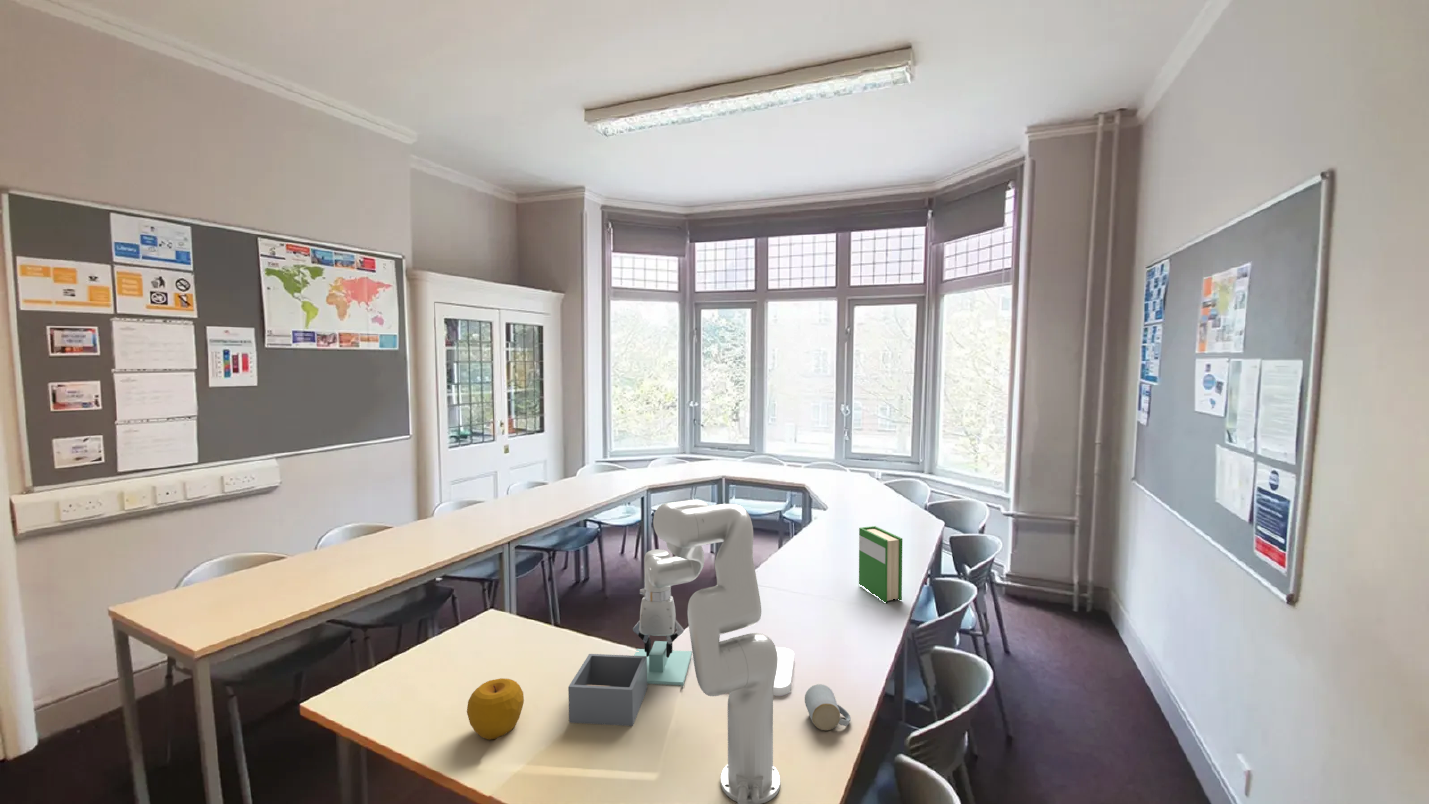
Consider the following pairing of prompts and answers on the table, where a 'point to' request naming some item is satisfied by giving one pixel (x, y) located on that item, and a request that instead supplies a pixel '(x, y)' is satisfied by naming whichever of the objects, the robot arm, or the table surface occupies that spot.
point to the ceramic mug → (824, 708)
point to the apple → (495, 707)
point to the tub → (608, 690)
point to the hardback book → (880, 563)
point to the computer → (783, 671)
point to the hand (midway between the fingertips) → (658, 654)
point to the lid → (666, 665)
